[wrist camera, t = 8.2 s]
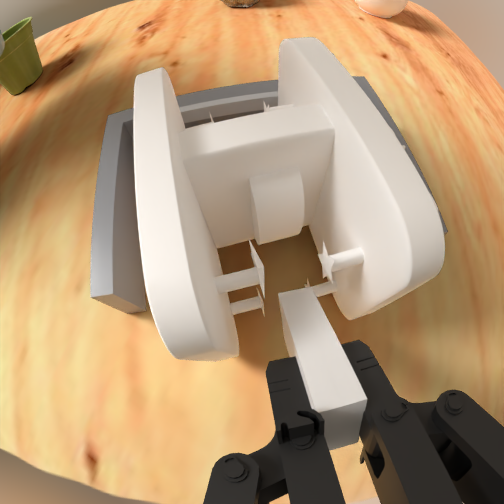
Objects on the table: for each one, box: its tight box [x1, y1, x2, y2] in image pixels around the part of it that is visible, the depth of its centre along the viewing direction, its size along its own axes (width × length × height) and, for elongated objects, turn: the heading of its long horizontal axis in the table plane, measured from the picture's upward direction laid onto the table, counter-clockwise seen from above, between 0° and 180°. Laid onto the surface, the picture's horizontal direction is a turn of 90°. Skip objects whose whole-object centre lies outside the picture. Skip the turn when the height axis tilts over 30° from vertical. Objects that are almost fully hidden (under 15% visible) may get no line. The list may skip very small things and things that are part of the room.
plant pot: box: [0, 17, 43, 95], centre depth 29 cm, size 12×12×11 cm
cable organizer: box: [133, 37, 445, 362], centre depth 16 cm, size 15×11×12 cm
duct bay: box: [91, 76, 448, 314], centre depth 20 cm, size 14×21×5 cm
